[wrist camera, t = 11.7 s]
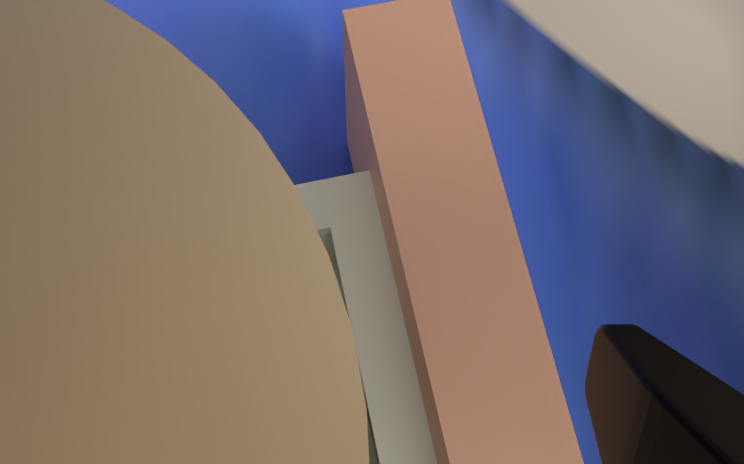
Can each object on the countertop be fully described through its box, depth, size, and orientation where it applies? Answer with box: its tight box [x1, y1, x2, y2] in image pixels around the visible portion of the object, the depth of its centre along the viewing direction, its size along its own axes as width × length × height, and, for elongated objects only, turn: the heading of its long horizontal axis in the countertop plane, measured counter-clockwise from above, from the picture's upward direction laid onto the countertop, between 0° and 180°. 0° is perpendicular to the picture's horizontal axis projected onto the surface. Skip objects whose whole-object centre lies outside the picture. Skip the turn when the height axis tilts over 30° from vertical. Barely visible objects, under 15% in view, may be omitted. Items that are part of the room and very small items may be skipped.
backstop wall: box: [342, 0, 584, 464], centre depth 13 cm, size 14×2×6 cm, turn 12°
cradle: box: [295, 170, 438, 464], centre depth 14 cm, size 9×9×4 cm
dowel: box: [0, 0, 369, 464], centre depth 8 cm, size 4×4×13 cm
